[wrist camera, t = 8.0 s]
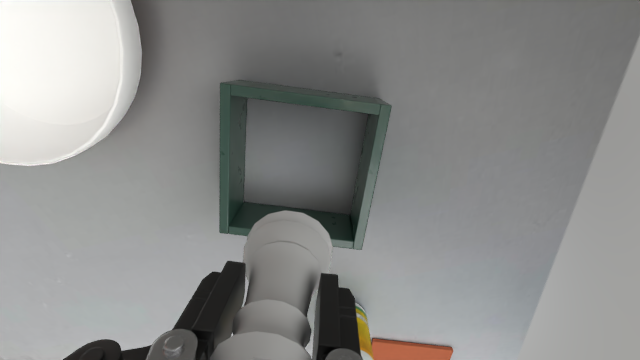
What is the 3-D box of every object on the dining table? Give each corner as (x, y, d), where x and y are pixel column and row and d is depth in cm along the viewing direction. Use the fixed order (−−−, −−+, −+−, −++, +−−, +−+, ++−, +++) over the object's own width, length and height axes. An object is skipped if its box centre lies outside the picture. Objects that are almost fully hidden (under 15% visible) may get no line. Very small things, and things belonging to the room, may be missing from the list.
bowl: (-84, 72, 26) (-198, 73, 21) (-54, -185, 20) (-204, -284, 15) (126, 182, 30) (78, 210, 24) (206, -9, 24) (168, -33, 18)
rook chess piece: (350, 242, 16) (370, 405, 8) (295, 292, 17) (267, 473, 9) (285, 188, 15) (238, 316, 7) (231, 245, 16) (143, 405, 8)
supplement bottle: (336, 338, 37) (339, 426, 28) (313, 309, 35) (308, 393, 26) (374, 322, 36) (390, 408, 27) (352, 291, 34) (361, 371, 25)
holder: (380, 98, 26) (391, 105, 22) (356, 222, 31) (361, 250, 26) (238, 79, 26) (219, 82, 21) (235, 207, 31) (219, 233, 26)
